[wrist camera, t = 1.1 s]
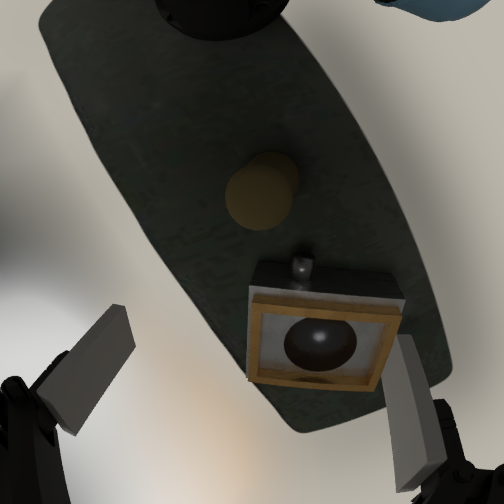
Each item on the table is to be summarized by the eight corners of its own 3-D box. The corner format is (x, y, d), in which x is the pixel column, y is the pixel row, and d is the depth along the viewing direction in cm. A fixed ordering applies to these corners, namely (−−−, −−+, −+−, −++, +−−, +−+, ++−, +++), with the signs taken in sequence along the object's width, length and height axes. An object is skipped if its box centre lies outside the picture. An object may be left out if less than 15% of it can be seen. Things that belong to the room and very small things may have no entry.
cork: (232, 171, 32) (198, 190, 22) (279, 140, 30) (266, 142, 20) (264, 217, 33) (245, 255, 23) (311, 188, 31) (314, 214, 21)
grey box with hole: (259, 241, 34) (247, 269, 28) (396, 255, 32) (416, 285, 25) (253, 347, 40) (243, 386, 33) (367, 357, 38) (375, 396, 31)
